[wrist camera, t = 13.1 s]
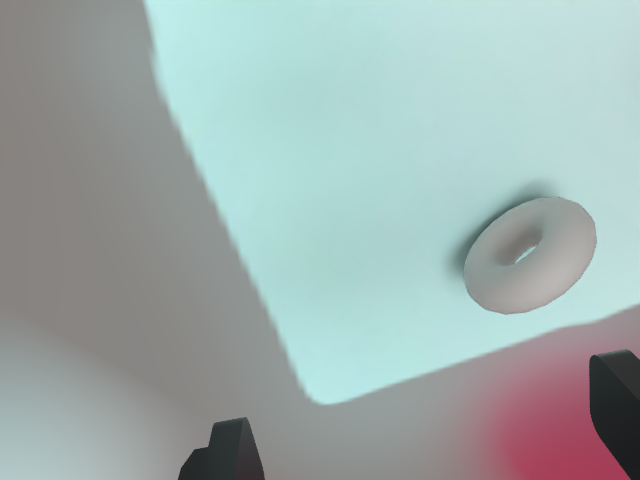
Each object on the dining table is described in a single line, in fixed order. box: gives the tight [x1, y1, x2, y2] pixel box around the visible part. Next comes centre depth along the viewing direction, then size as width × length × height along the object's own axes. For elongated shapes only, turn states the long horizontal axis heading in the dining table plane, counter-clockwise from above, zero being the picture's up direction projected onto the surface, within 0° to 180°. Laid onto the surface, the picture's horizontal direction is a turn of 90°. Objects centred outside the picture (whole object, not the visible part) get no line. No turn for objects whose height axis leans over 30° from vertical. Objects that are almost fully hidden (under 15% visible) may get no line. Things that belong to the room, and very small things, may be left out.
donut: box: [463, 197, 597, 314], centre depth 39 cm, size 10×3×10 cm, turn 134°
